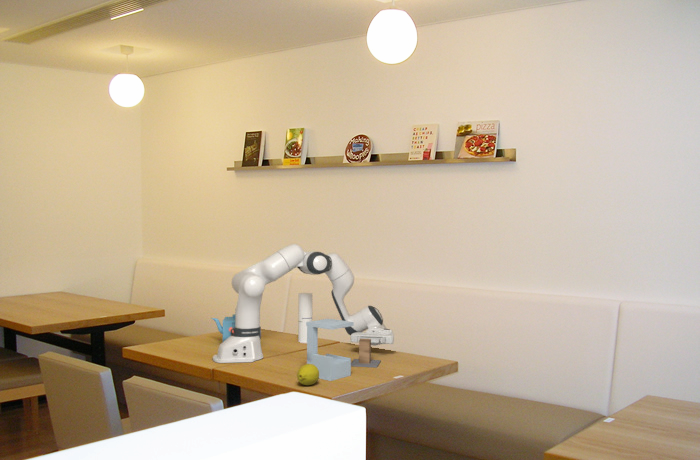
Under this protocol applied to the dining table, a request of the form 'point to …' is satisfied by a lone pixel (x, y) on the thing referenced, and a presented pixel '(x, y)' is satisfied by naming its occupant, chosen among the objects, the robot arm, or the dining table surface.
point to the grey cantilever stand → (329, 364)
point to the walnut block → (365, 351)
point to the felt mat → (372, 364)
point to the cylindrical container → (304, 315)
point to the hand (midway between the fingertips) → (369, 341)
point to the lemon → (308, 374)
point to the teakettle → (225, 326)
